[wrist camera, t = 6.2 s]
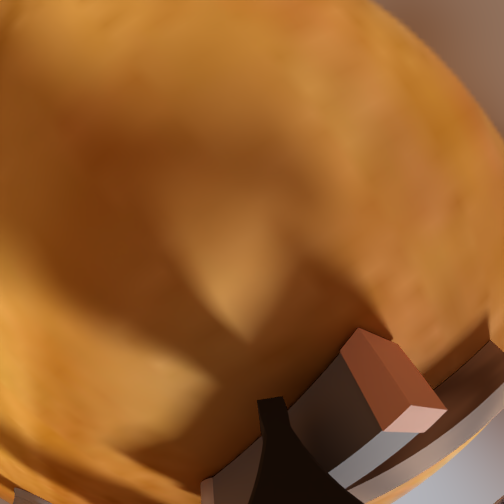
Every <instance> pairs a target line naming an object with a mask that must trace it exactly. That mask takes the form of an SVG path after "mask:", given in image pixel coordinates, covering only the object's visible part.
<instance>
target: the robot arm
mask: <svg viewBox="0 0 504 504" xmlns="http://www.w3.org/2000/svg"><path fill="white" fill-rule="evenodd" d="M257 403H258V412H259V420H260V428H261V434H262V440H263V446H262V452H261V458H260V462H259V467H258V472H257V476H256V480H255V483H254V487H253V490H252V493H251V496H250V499H249V502H248V504H364V503H363V502H362V501H360V500H359V499H358V498H356V497H355V496H354V495H352V494H351V493H350V492H348V491H347V490H346V489H345V488H344V487H342V486H341V485H340V484H339V483H338V482H337V481H336V480H335V479H334V478H333V477H332V476H331V475H330V474H329V473H327V472H326V470H325V469H324V468H323V467H322V466H321V465H320V464H319V463H318V462H317V461H316V460H315V458H314V457H313V456H312V455H311V454H310V452H309V451H308V450H307V449H306V447H305V446H304V445H303V443H302V442H301V441H300V439H299V438H298V436H297V435H296V434H295V432H294V431H293V429H292V427H291V426H290V420H289V414H288V411H287V408H286V405H285V402H284V399H283V396H281V397H275V398H269V399H262V400H257ZM494 504H504V496H502V497H501V498H500V499H499V500H497V501H496V502H495V503H494Z"/></svg>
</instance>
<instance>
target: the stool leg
mask: <svg viewBox="0 0 504 504" xmlns="http://www.w3.org/2000/svg"><path fill="white" fill-rule="evenodd" d="M446 411H447V408H446V407H445V406H444V404H443V403H442V402H441V400H440V399H439V397H438V396H437V395H436V393H435V392H434V391H433V389H432V388H431V387H430V385H429V384H428V383H427V381H426V380H425V379H424V377H423V376H422V375H421V373H420V372H419V371H418V369H417V368H416V367H415V366H414V364H413V363H412V362H411V360H410V359H409V358H408V357H407V355H406V354H405V353H404V351H403V350H402V349H401V348H400V346H399V345H398V344H396V343H394V342H391V341H389V340H387V339H384V338H382V337H380V336H377V335H375V334H373V333H370V332H368V331H366V330H363V329H361V328H359V327H358V328H357V330H356V331H355V332H354V334H353V335H352V336H351V337H350V339H349V340H348V341H347V342H346V344H345V345H344V346H343V347H342V348H341V350H340V354H339V355H338V356H337V357H336V358H335V360H334V361H333V362H332V363H331V364H330V365H329V367H328V368H327V369H326V370H325V371H324V372H323V373H322V375H321V376H320V377H319V378H318V379H317V380H316V381H315V382H314V383H313V385H312V386H311V387H310V388H309V389H308V390H307V391H306V392H305V393H304V394H303V395H302V396H301V397H300V398H299V400H298V401H297V402H296V403H295V404H294V405H293V406H292V407H291V408H290V409H289V410H288V414H289V420H290V426H291V427H292V429H293V431H294V432H295V434H296V435H297V436H298V438H299V439H300V441H301V442H302V443H303V445H304V446H305V447H306V449H307V450H308V451H309V452H310V454H311V455H312V456H313V457H314V458H315V460H316V461H317V462H318V463H319V464H320V465H321V466H322V467H323V468H324V469H325V470H326V472H327V473H329V474H330V475H331V476H332V477H333V478H334V479H335V480H336V481H337V482H338V483H339V484H340V485H341V486H342V487H344V488H347V487H348V486H350V485H352V484H353V483H355V482H356V481H358V480H359V479H361V478H362V477H364V476H365V475H367V474H368V473H369V472H371V471H372V470H374V469H375V468H376V467H378V466H379V465H380V464H382V463H383V462H384V461H386V460H387V459H388V458H390V457H391V456H392V455H394V454H395V453H396V452H397V451H399V450H400V449H401V448H402V447H403V446H405V445H406V444H407V443H408V442H409V441H411V440H412V439H413V438H414V437H415V436H416V435H417V434H419V433H424V432H425V431H426V430H427V429H429V428H430V427H431V426H432V425H433V424H434V423H435V422H436V421H437V420H438V419H439V418H440V417H441V416H442V415H443V414H444V413H445V412H446ZM262 446H263V440H262V436H261V437H260V438H259V439H258V440H256V441H255V442H254V443H253V444H252V445H251V446H250V447H249V448H248V449H246V450H245V451H244V452H243V453H242V454H241V455H239V456H238V457H237V458H236V459H235V460H234V461H232V462H231V463H230V464H229V465H228V466H226V467H225V468H224V469H223V470H221V471H220V472H219V473H218V474H216V475H215V476H214V477H213V478H209V479H206V480H204V481H202V482H201V504H248V502H249V499H250V496H251V493H252V490H253V487H254V483H255V480H256V476H257V472H258V467H259V462H260V458H261V452H262Z"/></svg>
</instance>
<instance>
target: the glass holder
mask: <svg viewBox="0 0 504 504" xmlns="http://www.w3.org/2000/svg"><path fill="white" fill-rule="evenodd" d="M14 492H15V498H14V502H13V504H52V503H50V502H48V501H46V500H44V499H42V498H40V497H38V496H36V495H34V494H31V493H29V492H27V491H25V490H22V489H19V488H14Z"/></svg>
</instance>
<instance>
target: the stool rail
mask: <svg viewBox="0 0 504 504" xmlns="http://www.w3.org/2000/svg"><path fill="white" fill-rule="evenodd" d="M433 391H434V392H435V393H436V395H437V396H438V397H439V399H440V400H441V402H442V403H443V404H444V406H445V407H446V408H447V411H446V412H445V413H444V414H443V415H442V416H441V417H440V418H439V419H438V420H437V421H436V422H435V423H434V424H433V425H432V426H431V427H430V428H429V429H427V430H426V431H425V432H424V433H419V434H417V435H416V436H415V437H414V438H413V439H412V440H411V441H409V442H408V443H407V444H406V445H405V446H403V447H402V448H401V449H400V450H399V451H397V452H396V453H395V454H394V455H392V456H391V457H390V458H388V459H387V460H386V461H384V462H383V463H382V464H380V465H379V466H378V467H376V468H375V469H374V470H372V471H371V472H369V473H368V474H367V475H365V476H364V477H362V478H361V479H359V480H358V481H356V482H355V483H353V484H352V485H350V486H348V487H347V488H345V489H346V490H347V491H348V492H350V493H351V494H352V495H354V496H355V497H356V498H358V499H359V500H360V501H362V502H363V503H366V502H368V501H371V500H373V499H375V498H377V497H379V496H381V495H383V494H385V493H387V492H389V491H391V490H392V489H394V488H396V487H398V486H400V485H402V484H403V483H405V482H407V481H409V480H410V479H412V478H414V477H415V476H417V475H419V474H420V473H422V472H423V471H425V470H427V469H428V468H430V467H431V466H433V465H434V464H436V463H437V462H439V461H440V460H442V459H443V458H444V457H446V456H447V455H449V454H450V453H451V452H453V451H454V450H456V449H457V448H458V447H459V446H461V445H462V444H463V443H465V442H466V441H467V440H468V439H470V438H471V437H472V436H473V435H475V434H476V433H477V432H478V431H479V430H481V429H482V428H483V427H484V426H485V425H486V424H487V423H489V422H490V421H491V420H492V419H493V418H494V417H495V416H496V415H497V414H498V413H499V412H500V411H501V410H503V409H504V352H503V351H502V350H501V349H500V348H498V347H497V346H496V345H495V344H494V343H493V342H492V341H491V340H490V341H489V342H488V343H487V344H486V345H485V346H484V347H483V348H482V349H481V350H480V351H479V352H478V353H477V354H476V355H474V356H473V357H472V358H471V359H470V360H469V361H468V362H467V363H466V364H465V365H463V366H462V367H461V368H460V369H459V370H458V371H457V372H455V373H454V374H453V375H452V376H451V377H449V378H448V379H447V380H446V381H445V382H443V383H442V384H441V385H440V386H438V387H437V388H436V389H434V390H433Z"/></svg>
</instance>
